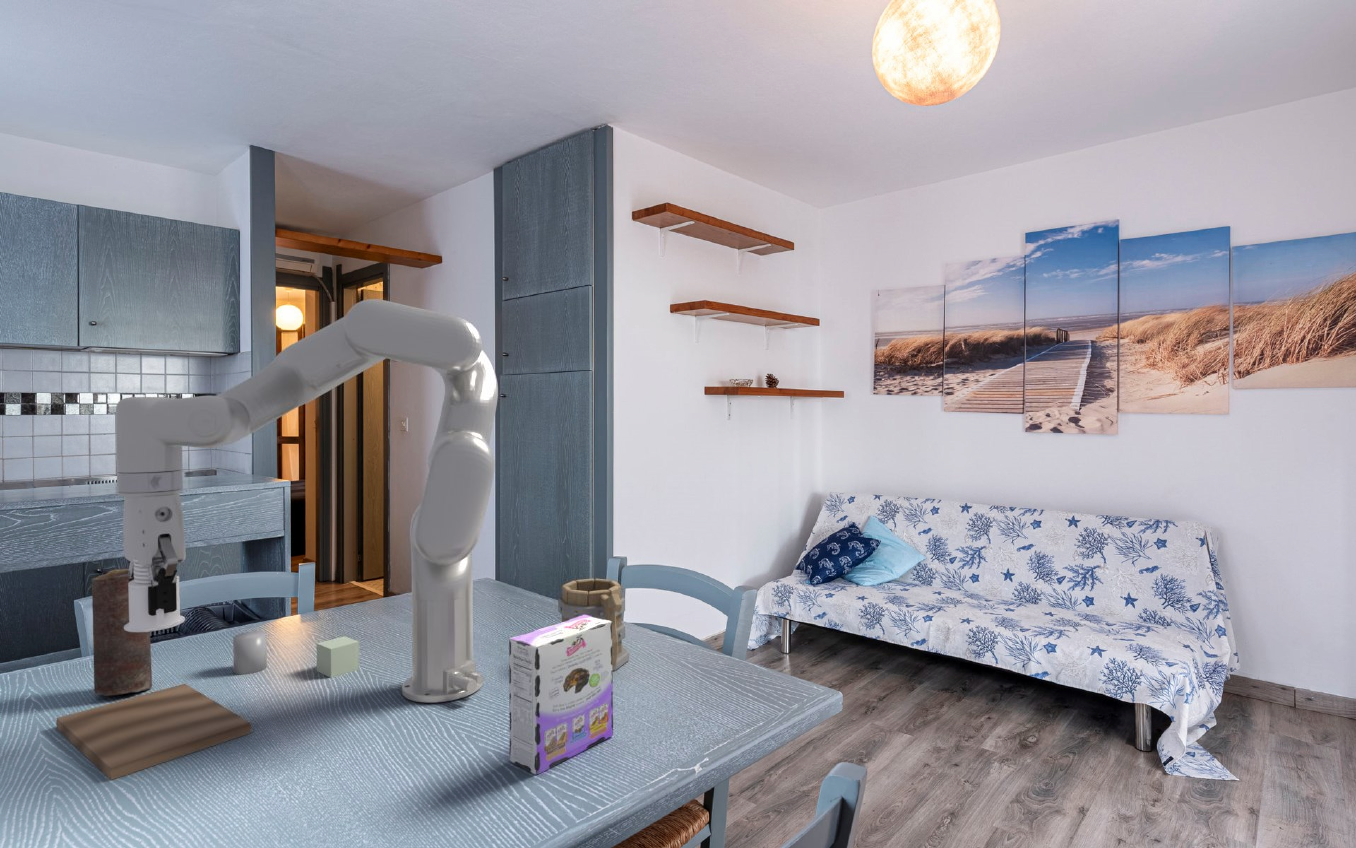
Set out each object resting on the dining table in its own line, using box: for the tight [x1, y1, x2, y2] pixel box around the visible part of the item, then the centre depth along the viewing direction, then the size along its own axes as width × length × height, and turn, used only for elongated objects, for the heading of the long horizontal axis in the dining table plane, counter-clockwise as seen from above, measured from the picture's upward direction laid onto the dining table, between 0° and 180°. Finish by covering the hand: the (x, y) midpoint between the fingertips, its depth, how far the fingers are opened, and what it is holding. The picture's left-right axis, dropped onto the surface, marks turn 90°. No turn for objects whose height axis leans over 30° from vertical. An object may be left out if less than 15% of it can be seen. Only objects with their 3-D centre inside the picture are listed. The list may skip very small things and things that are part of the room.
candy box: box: [508, 615, 614, 776], centre depth 96 cm, size 14×6×16 cm, turn 141°
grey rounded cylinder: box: [232, 630, 268, 676], centre depth 125 cm, size 5×5×6 cm
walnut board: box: [56, 683, 252, 781], centre depth 101 cm, size 24×16×2 cm, turn 53°
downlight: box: [124, 558, 186, 632], centre depth 101 cm, size 8×7×10 cm
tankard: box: [557, 577, 630, 672], centre depth 126 cm, size 20×13×15 cm, turn 23°
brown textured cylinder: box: [91, 568, 153, 697], centre depth 115 cm, size 8×7×20 cm
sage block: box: [316, 635, 360, 679], centre depth 125 cm, size 5×5×5 cm
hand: (152, 607), depth 101 cm, fingers closed on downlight, 7 cm apart
